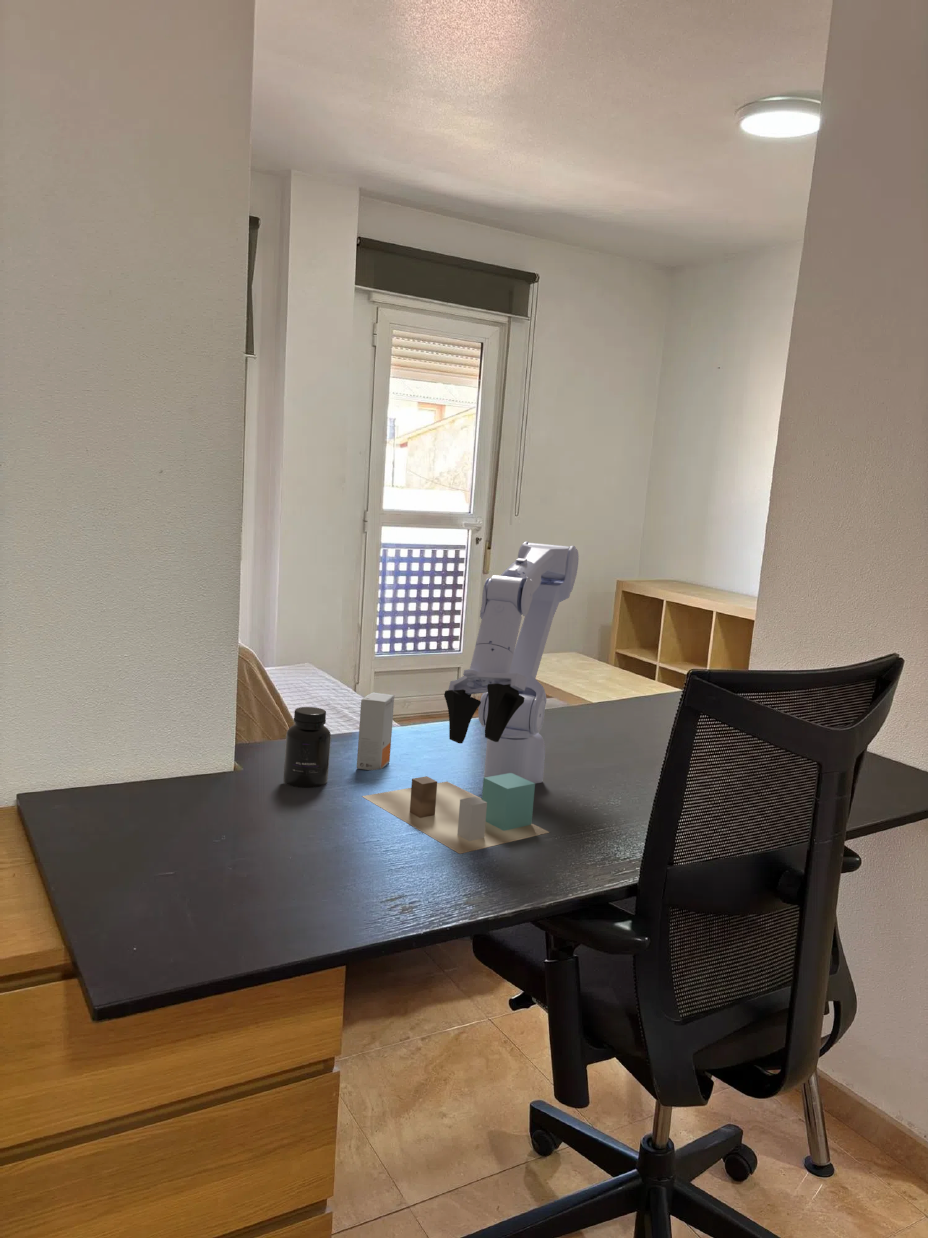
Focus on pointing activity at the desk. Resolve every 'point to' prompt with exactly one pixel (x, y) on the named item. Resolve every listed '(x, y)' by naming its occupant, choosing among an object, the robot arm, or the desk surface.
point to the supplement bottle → (307, 749)
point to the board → (448, 819)
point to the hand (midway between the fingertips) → (473, 740)
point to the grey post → (472, 818)
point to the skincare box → (375, 731)
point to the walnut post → (423, 797)
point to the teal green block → (508, 801)
